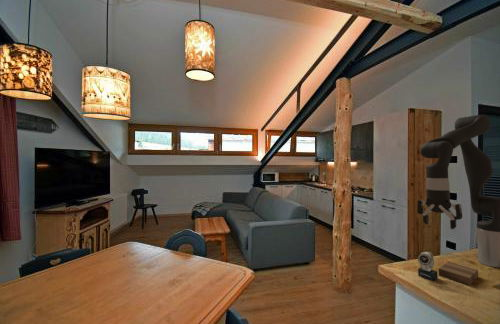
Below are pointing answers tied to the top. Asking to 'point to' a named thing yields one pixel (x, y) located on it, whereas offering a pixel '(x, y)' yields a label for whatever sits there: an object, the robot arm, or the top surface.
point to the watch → (427, 266)
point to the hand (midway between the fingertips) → (439, 226)
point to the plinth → (458, 273)
